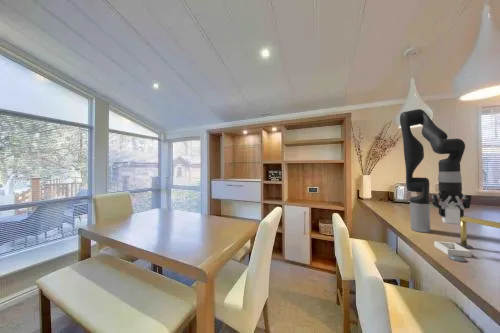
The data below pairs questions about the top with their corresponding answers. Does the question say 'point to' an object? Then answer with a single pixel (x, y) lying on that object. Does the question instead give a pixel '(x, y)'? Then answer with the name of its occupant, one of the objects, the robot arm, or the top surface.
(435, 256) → the top surface
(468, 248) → the key plate
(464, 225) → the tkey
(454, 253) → the white rectangular frame
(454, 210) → the eye dropper bottle
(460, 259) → the grey round disc
